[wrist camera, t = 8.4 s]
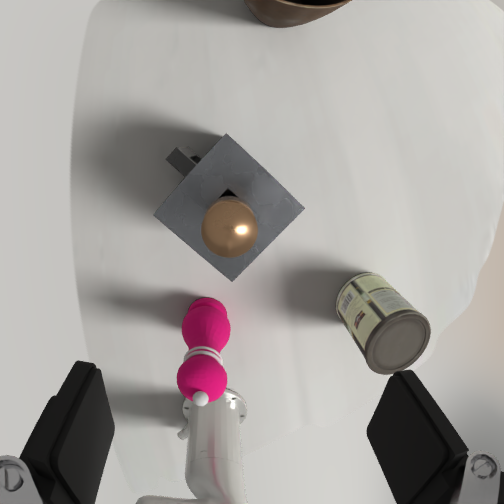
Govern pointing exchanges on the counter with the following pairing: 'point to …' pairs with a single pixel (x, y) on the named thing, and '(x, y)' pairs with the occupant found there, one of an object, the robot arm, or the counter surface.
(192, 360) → the pepper mill
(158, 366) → the counter surface
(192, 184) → the press
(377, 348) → the coffee can
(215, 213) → the plunger
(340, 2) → the plant pot
